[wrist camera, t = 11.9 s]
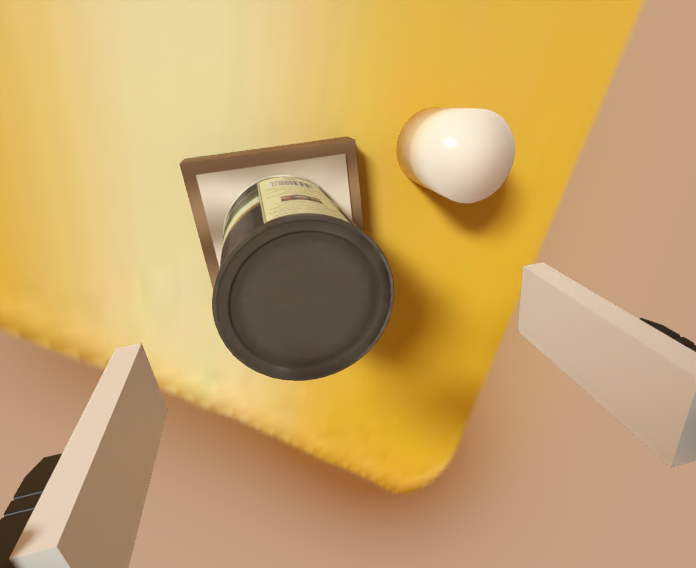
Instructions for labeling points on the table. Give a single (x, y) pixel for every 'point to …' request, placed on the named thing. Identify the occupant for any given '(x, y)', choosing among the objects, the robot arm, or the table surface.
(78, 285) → the table surface
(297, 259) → the coffee can
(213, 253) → the picture frame
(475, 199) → the cream egg shape
